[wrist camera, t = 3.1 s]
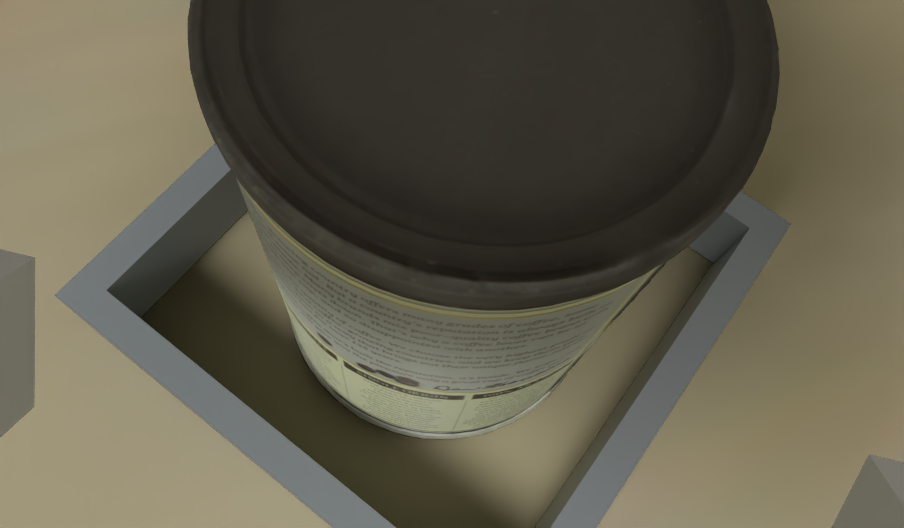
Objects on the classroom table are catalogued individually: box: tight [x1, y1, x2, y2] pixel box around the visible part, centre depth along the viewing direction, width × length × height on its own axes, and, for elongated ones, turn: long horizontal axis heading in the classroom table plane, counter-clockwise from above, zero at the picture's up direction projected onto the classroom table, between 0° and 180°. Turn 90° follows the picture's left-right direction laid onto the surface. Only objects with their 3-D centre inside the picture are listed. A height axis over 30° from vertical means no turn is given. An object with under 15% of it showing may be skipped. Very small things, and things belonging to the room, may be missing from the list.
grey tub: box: [55, 143, 791, 528], centre depth 25 cm, size 16×16×3 cm
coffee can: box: [188, 0, 779, 439], centre depth 20 cm, size 10×10×14 cm
